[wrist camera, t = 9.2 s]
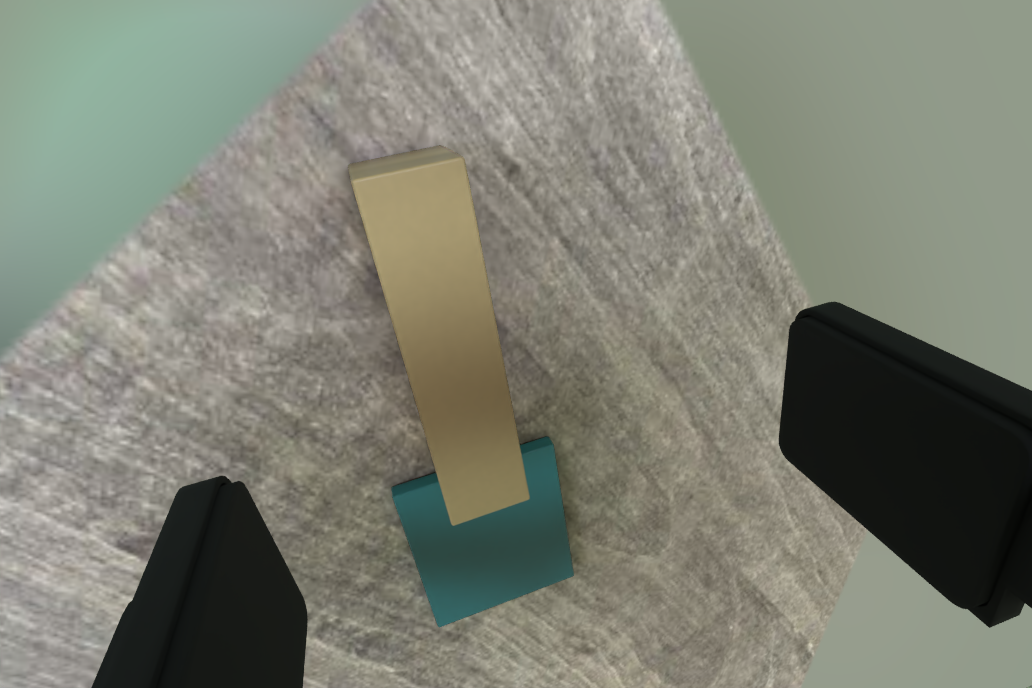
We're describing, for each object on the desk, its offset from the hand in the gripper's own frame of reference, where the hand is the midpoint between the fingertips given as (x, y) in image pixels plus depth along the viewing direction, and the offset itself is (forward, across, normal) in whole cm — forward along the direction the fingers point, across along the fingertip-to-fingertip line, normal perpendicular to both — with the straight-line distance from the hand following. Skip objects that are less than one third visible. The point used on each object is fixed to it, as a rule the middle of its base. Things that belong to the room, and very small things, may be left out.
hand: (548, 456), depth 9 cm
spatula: (+6, +1, +3) cm, 7 cm away
